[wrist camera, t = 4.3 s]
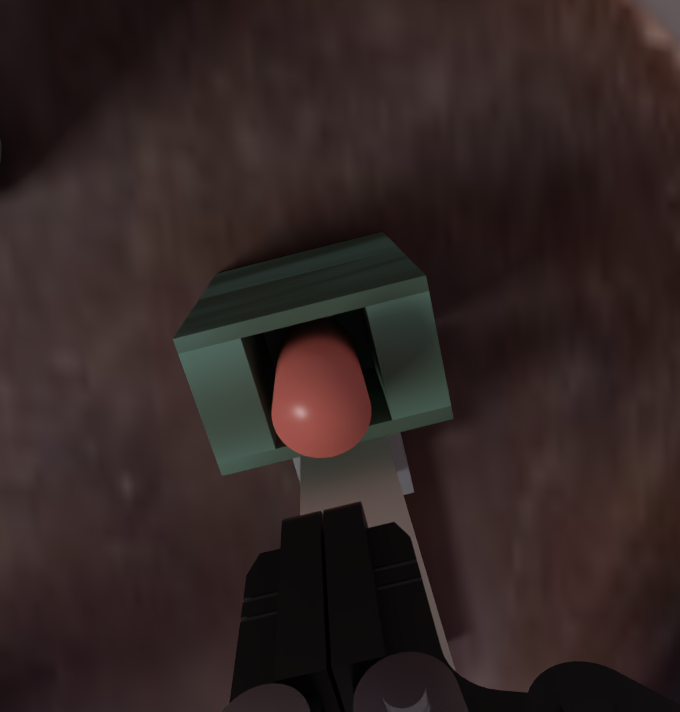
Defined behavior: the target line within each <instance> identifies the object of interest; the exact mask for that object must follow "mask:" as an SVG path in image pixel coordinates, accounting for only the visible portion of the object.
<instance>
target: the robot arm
mask: <svg viewBox="0 0 680 712" xmlns="http://www.w3.org/2000/svg"><path fill="white" fill-rule="evenodd" d="M241 620H242V623H240V629H239V636H238V644H237V651H236V659H235V666H234V674H233V682H232V689H231V697H230V702H229V704H228V705H227V706H226V707H225V708H224V709H223V711H222V712H680V704H678V703H676V702H674V701H672V700H670V699H669V698H667V697H665V696H663V695H661V694H659V693H657V692H655V691H653V690H651V689H649V688H647V687H646V686H644V685H642V684H640V683H638V682H636V681H634V680H632V679H630V678H628V677H626V676H625V675H623V674H621V673H619V672H617V671H615V670H613V669H610V668H608V667H606V666H602V665H599V664H596V663H590V662H577V661H574V662H566V663H562V664H558V665H555V666H553V667H551V668H549V669H547V670H545V671H544V672H543V673H541V674H540V675H539V676H538V677H537V678H536V679H535V680H534V682H533V683H532V685H531V687H530V689H529V691H528V693H524V692H513V691H501V690H494V689H488V688H485V687H481V686H478V685H476V684H474V683H471V682H469V681H468V680H466V679H465V678H463V677H461V676H460V675H459V674H458V673H457V672H456V671H454V669H453V668H452V667H451V666H450V665H449V664H448V662H447V660H446V658H445V657H444V654H443V652H442V649H441V645H440V642H439V638H438V635H437V631H436V627H435V624H434V620H433V616H432V613H431V609H430V606H429V602H428V598H427V595H426V591H425V588H424V584H423V580H422V577H421V573H420V569H419V566H418V562H417V559H416V555H415V551H414V548H413V544H412V540H411V537H410V536H409V535H408V534H407V533H406V532H405V531H404V530H403V529H402V528H401V527H400V526H398V525H397V524H396V523H395V522H391V523H387V524H382V525H378V526H374V527H370V528H368V524H367V521H366V517H365V513H364V509H363V506H362V503H361V501H359V502H355V503H351V504H347V505H342V506H338V507H334V508H330V509H326V510H323V513H322V512H321V511H317V512H312V513H308V514H304V515H300V516H296V517H292V518H287V519H283V521H282V531H281V549H277V550H273V551H268V552H264V553H260V554H259V556H258V558H257V559H256V561H255V563H254V564H253V566H252V568H251V569H250V571H249V572H248V574H247V576H246V583H245V591H244V603H243V606H242V614H241Z"/></svg>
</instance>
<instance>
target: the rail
mask: <svg viewBox="0 0 680 712" xmlns="http://www.w3.org/2000/svg"><path fill="white" fill-rule="evenodd" d="M319 318H327V319H330V320H333V321H335V322H337V323H339V324H340V325H342V326H343V327H344V328H345V329H346V330H347V331H348V332H349V334H350V335H351V337H352V339H353V342H354V345H355V348H356V352H357V355H358V359H359V363H360V366H361V370H362V374H363V377H364V381H365V385H366V388H367V392H368V395H369V399H370V403H371V420H370V424H369V427H368V429H367V431H366V433H365V435H364V436H363V438H362V439H361V440H360V441H359V442H362V441H366V440H370V439H374V438H378V437H382V436H387V435H391V434H395V433H399V432H403V431H407V430H411V429H415V428H419V427H423V426H427V425H431V424H435V423H439V422H443V421H447V420H452V419H454V418H453V413H452V408H451V402H450V397H449V392H448V387H447V382H446V376H445V371H444V366H443V361H442V356H441V351H440V345H439V340H438V335H437V330H436V325H435V319H434V314H433V309H432V304H431V299H430V293H429V288H428V283H427V278H426V275H425V274H424V273H423V272H422V271H421V270H420V269H419V268H418V267H417V266H416V265H415V264H414V263H413V262H412V261H411V260H410V259H409V258H408V257H407V256H406V255H405V254H404V253H403V252H402V251H401V250H400V249H399V248H398V247H397V246H396V244H395V243H394V242H393V241H392V240H391V239H390V238H389V237H388V236H387V235H386V234H385V233H384V232H379V233H375V234H371V235H367V236H363V237H359V238H355V239H351V240H347V241H343V242H339V243H335V244H332V245H328V246H324V247H320V248H316V249H312V250H308V251H304V252H300V253H296V254H292V255H288V256H284V257H280V258H276V259H272V260H268V261H264V262H260V263H257V264H253V265H249V266H245V267H241V268H237V269H233V270H229V271H225V272H221V273H217V274H216V275H215V277H214V278H213V280H212V281H211V283H210V284H209V286H208V287H207V289H206V290H205V292H204V293H203V295H202V296H201V298H200V299H199V301H198V302H197V304H196V305H195V307H194V308H193V310H192V311H191V313H190V314H189V316H188V317H187V319H186V320H185V322H184V323H183V325H182V326H181V328H180V329H179V331H178V332H177V334H176V335H175V337H174V338H173V341H174V344H175V346H176V349H177V352H178V355H179V358H180V360H181V363H182V366H183V369H184V372H185V374H186V377H187V380H188V383H189V385H190V388H191V391H192V394H193V397H194V399H195V402H196V405H197V408H198V411H199V413H200V416H201V419H202V422H203V424H204V427H205V430H206V433H207V436H208V438H209V441H210V444H211V447H212V450H213V452H214V455H215V458H216V461H217V463H218V466H219V469H220V472H221V475H222V476H224V475H228V474H232V473H236V472H240V471H244V470H248V469H252V468H256V467H261V466H265V465H269V464H273V463H277V462H281V461H285V460H289V459H293V458H297V457H301V456H305V455H302V454H299V453H297V452H295V451H293V450H292V449H290V448H289V447H288V446H286V445H285V444H284V443H283V442H282V440H281V439H280V438H279V436H278V435H277V433H276V431H275V428H274V426H273V422H272V402H273V393H274V384H275V375H276V366H277V357H278V349H279V344H280V341H281V339H282V337H283V335H284V334H285V333H286V331H287V330H288V329H289V328H290V327H291V326H293V325H295V324H299V323H303V322H307V321H311V320H315V319H319Z"/></svg>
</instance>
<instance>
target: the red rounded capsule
mask: <svg viewBox="0 0 680 712" xmlns="http://www.w3.org/2000/svg"><path fill="white" fill-rule="evenodd" d="M370 420H371V403H370V399H369V395H368V392H367V388H366V385H365V381H364V377H363V374H362V370H361V366H360V363H359V359H358V355H357V352H356V348H355V345H354V342H353V339H352V337H351V335H350V334H349V332H348V331H347V330H346V329H345V328H344V327H343V326H342V325H340V324H339V323H337V322H335V321H333V320H330V319H327V318H319V319H315V320H311V321H307V322H303V323H299V324H295V325H293V326H291V327H290V328H289V329H288V330H287V331H286V333H285V334H284V335H283V337H282V339H281V341H280V344H279V349H278V357H277V366H276V375H275V384H274V393H273V402H272V422H273V426H274V428H275V431H276V433H277V435H278V436H279V438H280V439H281V440H282V442H283V443H284V444H285V445H286V446H288V447H289V448H290V449H292V450H293V451H295V452H297V453H299V454H302V455H305V456H308V457H314V458H327V457H333V456H336V455H340V454H342V453H344V452H346V451H348V450H350V449H351V448H352V447H354V446H355V445H356V444H357V443H358V442H359V441H360V440H361V439H362V438H363V436H364V435H365V433H366V431H367V429H368V427H369V424H370Z"/></svg>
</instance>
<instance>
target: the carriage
mask: <svg viewBox="0 0 680 712" xmlns="http://www.w3.org/2000/svg"><path fill="white" fill-rule="evenodd" d="M293 461H294V465H295V468H296V471H297V474H298V478H299V481H300V515H304V514H308V513H312V512H317V511H321V512H322V513H323V510H326V509H330V508H334V507H338V506H342V505H347V504H351V503H355V502H359V501H361V503H362V506H363V509H364V513H365V517H366V521H367V524H368V528H370V527H374V526H378V525H382V524H387V523H391V522H395V523H396V524H397V525H398V526H400V527H401V528H402V529H403V530H404V531H405V532H406V533H407V534H408V535H409V536H410V537H411V540H412V544H413V548H414V551H415V555H416V559H417V562H418V566H419V569H420V573H421V577H422V580H423V584H424V588H425V591H426V595H427V598H428V602H429V606H430V609H431V613H432V616H433V620H434V624H435V627H436V631H437V635H438V638H439V642H440V645H441V649H442V652H443V654H444V657H445V658H446V660H447V662H448V664H449V665H450V666H451V667H452V668H453V669H454V671H455V667H454V664H453V661H452V657H451V654H450V650H449V647H448V644H447V640H446V637H445V634H444V630H443V627H442V624H441V620H440V617H439V613H438V610H437V607H436V603H435V600H434V597H433V593H432V590H431V586H430V583H429V580H428V576H427V573H426V570H425V566H424V563H423V560H422V556H421V553H420V549H419V546H418V543H417V539H416V536H415V533H414V529H413V526H412V522H411V519H410V516H409V512H408V509H407V506H406V502H405V499H404V496H403V495H406V494H410V493H414V489H413V485H412V480H411V476H410V471H409V467H408V463H407V458H406V454H405V450H404V445H403V441H402V437H401V432H399V433H395V434H391V435H387V436H382V437H378V438H374V439H370V440H366V441H362V442H358V443H357V444H356V445H355V446H354V447H352V448H351V449H350V450H348V451H346V452H344V453H342V454H340V455H336V456H333V457H327V458H314V457H308V456H301V457H297V458H293Z"/></svg>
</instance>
